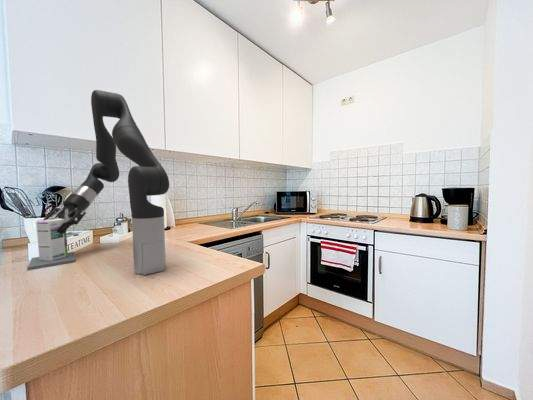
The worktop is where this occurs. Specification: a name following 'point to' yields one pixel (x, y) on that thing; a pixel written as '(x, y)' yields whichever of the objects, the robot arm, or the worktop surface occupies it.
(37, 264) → the mat
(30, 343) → the worktop surface
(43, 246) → the syrup box
